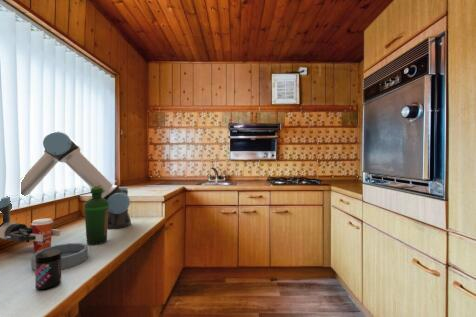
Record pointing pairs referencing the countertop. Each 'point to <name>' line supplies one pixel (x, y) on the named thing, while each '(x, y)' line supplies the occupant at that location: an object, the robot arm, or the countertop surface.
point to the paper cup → (42, 233)
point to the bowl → (67, 254)
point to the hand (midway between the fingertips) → (50, 235)
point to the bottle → (96, 217)
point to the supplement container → (47, 270)
